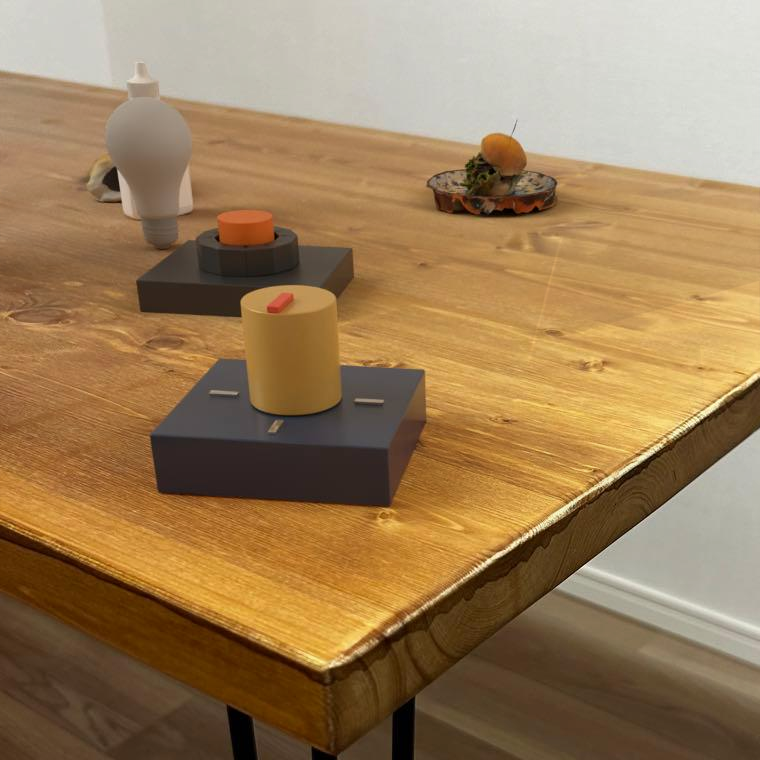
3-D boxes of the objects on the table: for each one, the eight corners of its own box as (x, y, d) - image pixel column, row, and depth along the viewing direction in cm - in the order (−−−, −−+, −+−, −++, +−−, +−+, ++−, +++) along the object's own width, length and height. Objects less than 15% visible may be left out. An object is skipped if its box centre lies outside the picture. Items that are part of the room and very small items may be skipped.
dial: (268, 378, 60) (259, 275, 58) (352, 385, 60) (347, 282, 57) (236, 411, 56) (225, 303, 54) (326, 419, 56) (319, 310, 53)
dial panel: (157, 493, 56) (148, 430, 54) (224, 410, 64) (218, 354, 63) (390, 507, 55) (387, 445, 53) (426, 422, 64) (425, 366, 62)
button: (212, 248, 79) (209, 221, 78) (229, 234, 82) (227, 208, 81) (266, 250, 79) (263, 224, 78) (281, 236, 82) (279, 211, 81)
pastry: (114, 178, 111) (108, 136, 110) (187, 180, 112) (183, 138, 110) (85, 202, 103) (78, 157, 101) (164, 204, 104) (159, 159, 102)
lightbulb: (205, 236, 95) (188, 90, 89) (203, 258, 89) (185, 104, 84) (124, 239, 93) (103, 91, 88) (117, 261, 88) (94, 104, 83)
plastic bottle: (193, 219, 99) (175, 66, 93) (122, 221, 98) (99, 66, 92) (194, 207, 103) (177, 58, 97) (126, 209, 102) (105, 58, 96)
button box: (140, 312, 78) (131, 252, 76) (191, 269, 87) (185, 214, 85) (320, 322, 77) (316, 261, 75) (354, 277, 86) (351, 222, 84)
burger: (514, 181, 115) (515, 99, 111) (584, 208, 106) (587, 120, 102) (402, 194, 109) (399, 108, 105) (466, 223, 100) (465, 131, 97)
